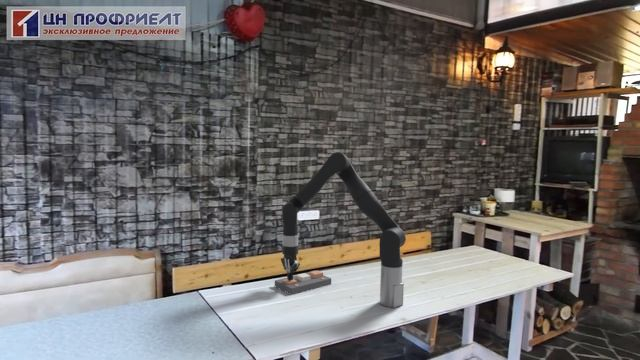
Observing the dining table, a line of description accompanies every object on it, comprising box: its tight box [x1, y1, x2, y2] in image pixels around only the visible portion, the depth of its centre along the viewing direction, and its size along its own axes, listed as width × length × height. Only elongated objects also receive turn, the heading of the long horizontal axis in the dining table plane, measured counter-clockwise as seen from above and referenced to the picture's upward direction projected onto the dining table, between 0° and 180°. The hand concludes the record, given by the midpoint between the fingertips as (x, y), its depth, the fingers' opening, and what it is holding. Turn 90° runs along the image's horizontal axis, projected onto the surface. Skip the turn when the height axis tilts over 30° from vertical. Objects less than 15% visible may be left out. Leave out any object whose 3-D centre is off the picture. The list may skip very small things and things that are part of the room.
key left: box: [283, 279, 297, 285], centre depth 196 cm, size 5×5×3 cm
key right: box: [308, 269, 324, 279], centre depth 206 cm, size 5×5×3 cm
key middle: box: [295, 272, 311, 282], centre depth 201 cm, size 5×5×3 cm
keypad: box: [274, 272, 332, 296], centre depth 201 cm, size 14×24×3 cm, turn 129°
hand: (290, 279), depth 196 cm, fingers closed
